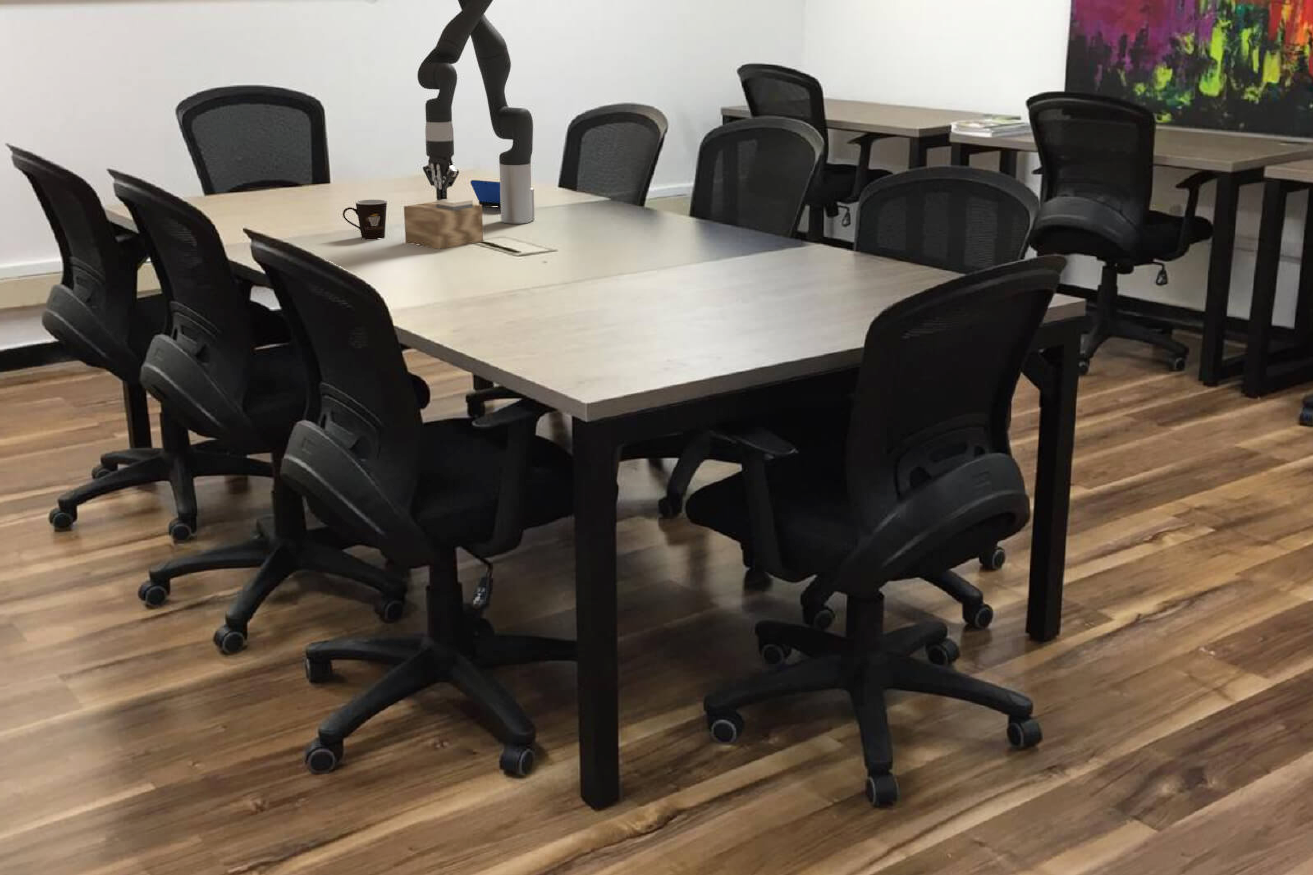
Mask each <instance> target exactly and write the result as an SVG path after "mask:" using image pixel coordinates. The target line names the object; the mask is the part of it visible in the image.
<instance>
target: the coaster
mask: <svg viewBox="0 0 1313 875" xmlns="http://www.w3.org/2000/svg"><path fill="white" fill-rule="evenodd" d="M435 202H436V208H441V209H447V210H460V209H466V208H473V204H474V203H473V199H467V198H461V197H449V198H448V197H447V199H441V200H437V199H436V200H435Z"/></svg>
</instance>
